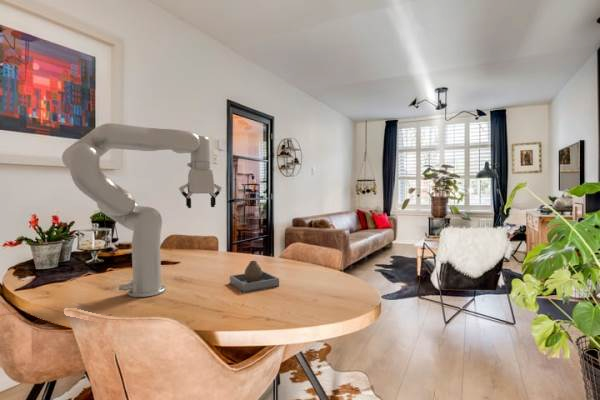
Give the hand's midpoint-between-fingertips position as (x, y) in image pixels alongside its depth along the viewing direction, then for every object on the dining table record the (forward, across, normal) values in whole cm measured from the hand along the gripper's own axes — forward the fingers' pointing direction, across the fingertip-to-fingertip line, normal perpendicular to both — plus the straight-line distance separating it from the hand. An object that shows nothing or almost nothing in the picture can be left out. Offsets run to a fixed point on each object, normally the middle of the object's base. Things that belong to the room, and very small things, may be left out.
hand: (201, 207), depth 139 cm
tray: (+30, +15, -19) cm, 39 cm away
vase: (+30, +15, -19) cm, 38 cm away
